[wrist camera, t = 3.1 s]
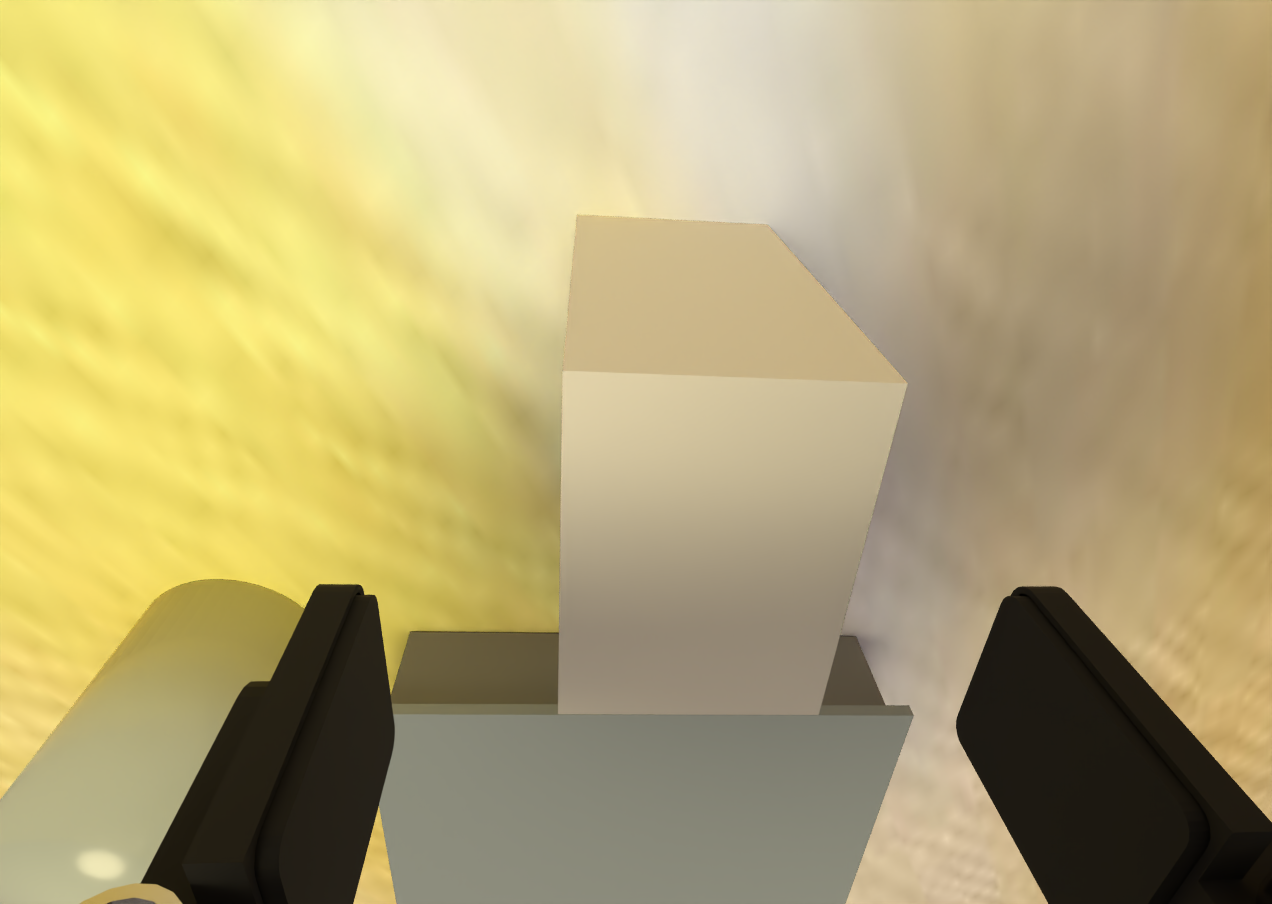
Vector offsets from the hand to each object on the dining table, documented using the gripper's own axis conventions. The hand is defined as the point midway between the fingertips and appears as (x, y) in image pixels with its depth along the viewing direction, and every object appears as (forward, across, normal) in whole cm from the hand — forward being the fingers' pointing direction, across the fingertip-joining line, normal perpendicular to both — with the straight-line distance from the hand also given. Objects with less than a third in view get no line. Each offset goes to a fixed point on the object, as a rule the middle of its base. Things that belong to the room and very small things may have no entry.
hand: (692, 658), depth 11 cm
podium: (+12, -1, +18) cm, 22 cm away
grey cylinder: (+12, +13, +11) cm, 21 cm away
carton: (+12, -1, -1) cm, 12 cm away
